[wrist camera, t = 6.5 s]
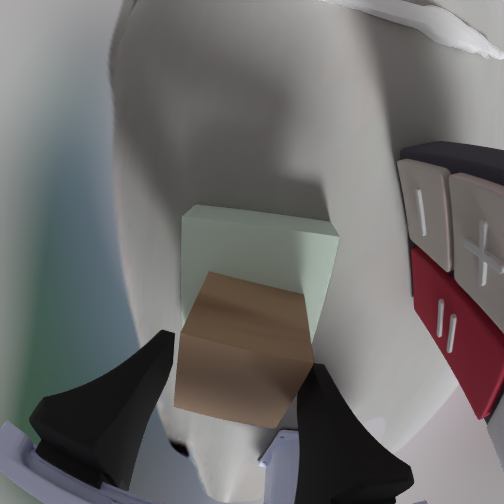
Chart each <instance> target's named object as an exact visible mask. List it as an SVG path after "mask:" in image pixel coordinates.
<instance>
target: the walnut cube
mask: <svg viewBox="0 0 504 504" xmlns="http://www.w3.org/2000/svg"><path fill="white" fill-rule="evenodd" d="M313 364H314V359H313V351H312V344H311V337H310V330H309V323H308V316H307V310H306V303H305V297H304V294H300V293H296V292H291V291H287V290H283V289H279V288H274V287H270V286H266V285H262V284H258V283H254V282H250V281H246V280H242V279H238V278H234V277H230V276H226V275H222V274H218V273H214V272H210V271H209V272H208V274H207V276H206V279H205V281H204V283H203V285H202V287H201V289H200V291H199V293H198V296H197V298H196V300H195V302H194V304H193V306H192V309H191V311H190V313H189V315H188V317H187V320H186V322H185V324H184V326H183V328H182V331H181V333H180V342H179V352H178V362H177V372H176V384H175V396H174V407H177V408H180V409H184V410H187V411H191V412H195V413H199V414H203V415H207V416H211V417H215V418H219V419H224V420H228V421H233V422H238V423H243V424H249V425H255V426H261V427H267V428H274V429H276V427H277V425H278V424H279V422H280V421H281V419H282V418H283V416H284V414H285V413H286V411H287V409H288V408H289V406H290V404H291V403H292V401H293V399H294V398H295V396H296V394H297V393H298V391H299V389H300V387H301V386H302V384H303V382H304V380H305V379H306V377H307V375H308V373H309V371H310V369H311V368H312V366H313Z"/></svg>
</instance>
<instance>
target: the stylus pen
mask: <svg viewBox="0 0 504 504" xmlns="http://www.w3.org/2000/svg"><path fill="white" fill-rule="evenodd" d="M321 1H325V2H328V3H332V4H336V5H340V6H344V7H347V8H353V9H356V10H359V11H362V12H365V13H368V14H371V15H374V16H377V17H380V18H383V19H386V20H389V21H392V22H395V23H398V24H402V25H405V26H409V27H413V28H416V29H418V30H419V31H421V32H422V33H423V34H424V35H426V36H427V37H429V38H430V39H431V40H433V41H434V42H436V43H439V44H442V45H444V46H447V47H452V48H454V47H455V48H459V49H462V50H465V51H467V52H469V53H471V54H472V53H478V54H480V55H481V56H483V57H484V58H489V55H491V56H492V57H494V58H495V59H500V60H502V59H504V52H503V51H502V50H501V49H499V48H498V47H496V46H494V45H492V44H491V43H490V42H489V41H487V40H486V38H485V37H484V36H483V35H481V34H480V33H478V32H477V31H476V30H475V29H473V28H472V27H470V26H468V25H467V24H465V23H464V22H462V21H461V20H460V19H459V18H457V17H456V16H455V15H453V14H452V13H451V12H449V11H447V10H445V9H443V8H440V7H438V6H434V5H425V6H420V5H417V4H413V3H410V2H406V1H402V0H321Z"/></svg>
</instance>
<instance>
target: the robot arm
mask: <svg viewBox="0 0 504 504" xmlns="http://www.w3.org/2000/svg"><path fill="white" fill-rule="evenodd" d="M174 340H175V333H172V332H169V331H165V330H161V331H159V332H158V333H157V334H156V335H155V336H154V337H153V338H152V339H151V340H150V341H149V342H148V343H147V344H146V345H144V346H143V347H142V348H141V349H140V350H139V351H137V352H136V353H135V354H134V355H132V356H131V357H130V358H129V359H127V360H126V361H124V362H123V363H122V364H120V365H119V366H117V367H116V368H114V369H113V370H111V371H110V372H108V373H106V374H104V375H103V376H101V377H99V378H97V379H95V380H93V381H91V382H89V383H87V384H85V385H82V386H80V387H77V388H74V389H72V390H69V391H66V392H63V393H59V394H56V395H51V396H48V397H44V398H43V399H42V400H41V401H40V403H39V404H38V405H37V407H36V408H35V410H34V411H33V413H32V414H31V416H30V417H29V421H30V424H31V425H32V427H33V428H34V430H35V431H36V432H37V434H38V435H39V436H40V438H41V442H40V443H39V445H38V446H36V445H35V444H34V443H33V441H32V440H31V439H30V438H29V437H28V436H27V435H26V434H25V433H24V432H22V431H21V430H20V429H18V428H17V427H15V426H14V425H13V424H11V423H10V422H9V421H6V422H5V423H4V425H3V426H2V428H1V429H0V471H1V472H2V473H3V474H4V475H5V476H7V477H8V478H9V479H11V480H12V481H13V482H14V483H16V484H17V485H18V486H20V487H21V488H22V489H24V490H25V491H27V492H28V493H29V494H31V495H32V496H34V497H35V498H37V499H38V500H40V501H41V502H43V503H44V504H163V503H160V502H156V501H153V500H150V499H146V498H144V497H141V496H138V495H135V494H132V493H129V492H127V491H128V490H129V486H130V482H131V477H132V473H133V469H134V465H135V462H136V458H137V455H138V451H139V448H140V445H141V441H142V438H143V435H144V432H145V429H146V426H147V423H148V421H149V418H150V416H151V413H152V412H153V410H154V407H155V405H156V403H157V401H158V399H159V397H160V395H161V393H162V391H163V389H164V386H165V384H166V382H167V380H168V377H169V374H170V371H171V368H172V365H173V355H174ZM297 420H298V431H292V430H281V431H279V432H278V434H277V436H276V437H275V439H274V440H273V442H272V443H271V445H270V446H269V448H268V449H267V451H266V452H265V454H264V455H263V457H262V458H261V460H260V461H259V463H258V465H259V466H261V467H266V477H265V492H264V504H395V503H396V499H395V497H396V496H398V495H399V494H401V493H403V492H404V491H406V490H407V489H409V488H410V487H411V486H412V485H413V484H414V478H413V474H412V470H411V467H410V466H409V465H408V464H406V463H405V462H403V461H402V460H400V459H398V458H397V457H396V456H394V455H393V454H392V453H391V452H389V451H388V450H387V449H386V448H384V447H383V446H382V445H381V444H380V443H379V442H378V441H377V440H376V439H375V438H374V437H373V436H372V435H371V434H370V433H369V432H368V431H367V430H366V429H365V428H364V426H363V425H362V424H361V423H360V422H359V420H358V419H357V418H356V416H355V415H354V414H353V412H352V411H351V409H350V408H349V406H348V405H347V403H346V402H345V400H344V399H343V397H342V395H341V394H340V392H339V390H338V389H337V387H336V385H335V383H334V382H333V380H332V378H331V376H330V374H329V372H328V371H327V369H326V367H325V365H323V364H316V363H314V364H313V366H312V368H311V369H310V371H309V373H308V375H307V377H306V379H305V380H304V382H303V384H302V386H301V387H300V389H299V391H298V395H297ZM414 504H427V501H421V502H418V503H414Z"/></svg>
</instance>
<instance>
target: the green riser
mask: <svg viewBox="0 0 504 504" xmlns="http://www.w3.org/2000/svg"><path fill="white" fill-rule="evenodd" d="M339 239H340V236H339V234H338V233H337V231H336V230H335V228H334V227H333V225H332V223H331V222H329V221H322V220H316V219H309V218H302V217H295V216H288V215H280V214H273V213H265V212H257V211H249V210H241V209H233V208H224V207H215V206H206V205H197V204H195V205H194V206H193V207H192V208H191V209H190V210H188V211H187V212H186V213H185V214H184V215H183V216H182V225H181V311H182V328H183V326H184V324H185V322H186V320H187V317H188V315H189V313H190V311H191V309H192V306H193V304H194V302H195V300H196V298H197V296H198V293H199V291H200V289H201V287H202V285H203V283H204V281H205V279H206V276H207V274H208V272H209V271H210V272H214V273H218V274H222V275H226V276H230V277H234V278H238V279H242V280H246V281H250V282H254V283H258V284H262V285H266V286H270V287H274V288H279V289H283V290H287V291H291V292H296V293H300V294H304V297H305V303H306V310H307V316H308V323H309V330H310V337H311V344H312V341H313V338H314V335H315V332H316V328H317V325H318V321H319V318H320V314H321V311H322V307H323V304H324V300H325V296H326V293H327V289H328V285H329V281H330V277H331V273H332V269H333V265H334V261H335V257H336V252H337V248H338V244H339Z"/></svg>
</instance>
